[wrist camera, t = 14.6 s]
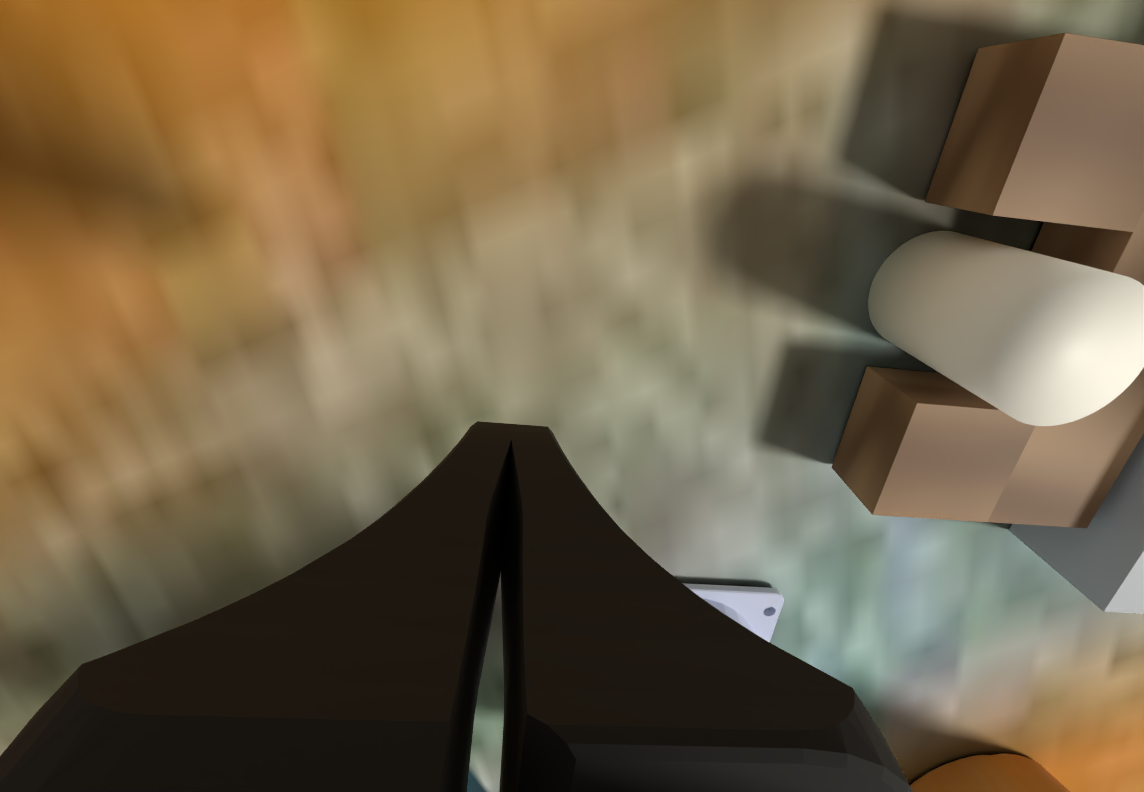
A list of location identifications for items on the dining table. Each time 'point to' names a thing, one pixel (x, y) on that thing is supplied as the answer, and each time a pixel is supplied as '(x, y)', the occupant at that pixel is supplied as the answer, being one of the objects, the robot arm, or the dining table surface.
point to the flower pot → (989, 776)
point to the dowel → (1012, 324)
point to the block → (1070, 232)
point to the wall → (1102, 544)
